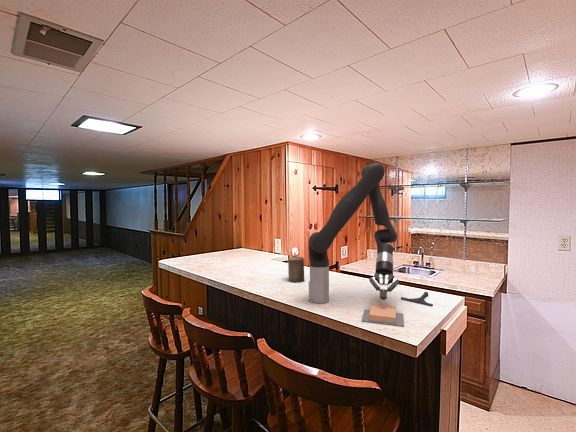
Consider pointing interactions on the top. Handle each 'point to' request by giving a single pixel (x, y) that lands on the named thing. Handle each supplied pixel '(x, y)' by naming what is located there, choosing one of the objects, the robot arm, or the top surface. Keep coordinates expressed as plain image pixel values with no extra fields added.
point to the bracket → (419, 300)
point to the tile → (383, 313)
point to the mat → (398, 322)
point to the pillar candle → (296, 269)
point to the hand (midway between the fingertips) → (383, 299)
